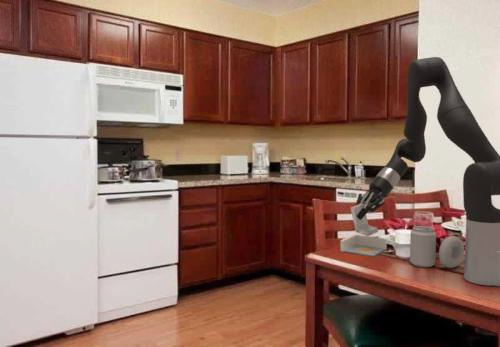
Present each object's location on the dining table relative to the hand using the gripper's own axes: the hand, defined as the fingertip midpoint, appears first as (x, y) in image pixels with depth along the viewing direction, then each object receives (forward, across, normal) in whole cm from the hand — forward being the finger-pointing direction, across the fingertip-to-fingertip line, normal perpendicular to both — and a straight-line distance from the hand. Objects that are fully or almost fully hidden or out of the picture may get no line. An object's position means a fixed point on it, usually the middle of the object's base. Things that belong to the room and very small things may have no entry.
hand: (356, 217), depth 151 cm
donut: (-2, +29, +19) cm, 35 cm away
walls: (+7, +2, +10) cm, 12 cm away
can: (+3, +23, +15) cm, 27 cm away
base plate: (+7, +2, +10) cm, 12 cm away
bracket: (+2, +3, +5) cm, 6 cm away
